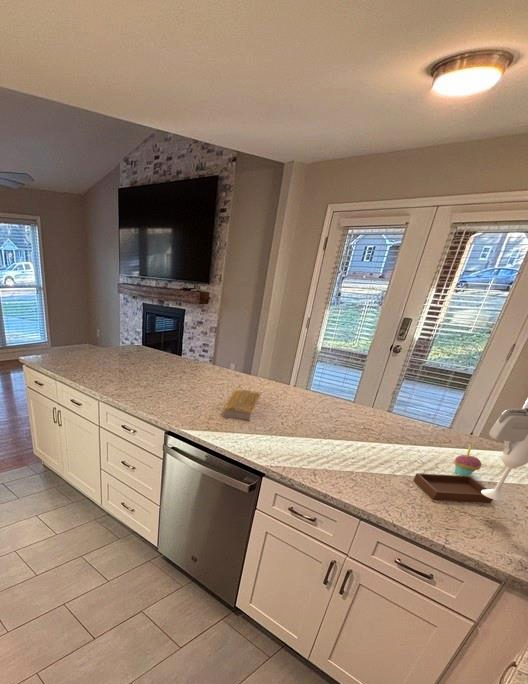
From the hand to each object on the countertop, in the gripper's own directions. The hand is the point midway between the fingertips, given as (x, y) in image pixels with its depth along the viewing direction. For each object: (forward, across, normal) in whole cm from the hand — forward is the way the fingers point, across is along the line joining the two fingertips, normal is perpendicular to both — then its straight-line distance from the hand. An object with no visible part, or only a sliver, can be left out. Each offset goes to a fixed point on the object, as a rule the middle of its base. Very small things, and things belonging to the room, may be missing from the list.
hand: (517, 454), depth 123 cm
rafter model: (+20, -64, +92) cm, 114 cm away
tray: (+21, -2, +14) cm, 26 cm away
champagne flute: (+14, 0, 0) cm, 14 cm away
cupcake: (+22, +10, +29) cm, 38 cm away
